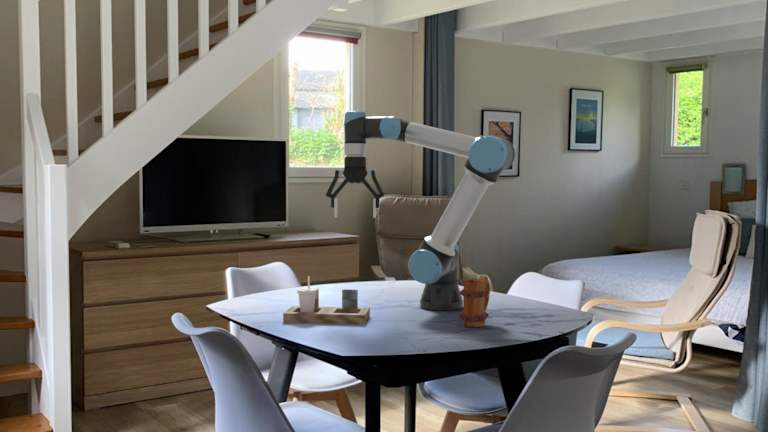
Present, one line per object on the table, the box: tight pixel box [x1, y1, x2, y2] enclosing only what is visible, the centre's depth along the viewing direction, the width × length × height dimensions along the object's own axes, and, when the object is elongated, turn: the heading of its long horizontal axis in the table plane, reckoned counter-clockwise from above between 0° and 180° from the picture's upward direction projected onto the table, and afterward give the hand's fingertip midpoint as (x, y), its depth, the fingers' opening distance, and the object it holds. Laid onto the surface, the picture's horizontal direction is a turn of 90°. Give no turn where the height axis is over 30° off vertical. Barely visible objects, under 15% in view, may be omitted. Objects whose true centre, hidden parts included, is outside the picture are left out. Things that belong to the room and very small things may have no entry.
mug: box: [458, 275, 491, 328], centre depth 249 cm, size 15×8×15 cm, turn 148°
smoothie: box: [296, 275, 318, 312], centre depth 257 cm, size 6×6×14 cm
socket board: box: [282, 288, 371, 325], centre depth 256 cm, size 26×13×9 cm, turn 84°
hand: (355, 217), depth 276 cm, fingers open, 13 cm apart
